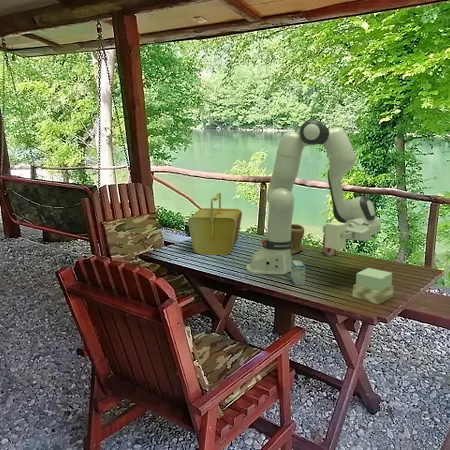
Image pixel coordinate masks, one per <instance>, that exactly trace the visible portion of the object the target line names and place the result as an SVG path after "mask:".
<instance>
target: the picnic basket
mask: <svg viewBox="0 0 450 450" xmlns="http://www.w3.org/2000/svg"><path fill="white" fill-rule="evenodd" d="M214 201H215V202H217V201H218V208H217V207H216V208H215V207H214ZM242 217H243V212H242V210H240V209H239V208H222V194H221V192H218V193H216V195H215V196H214V197H212V198H211V199H210V207H207V208H206V207H203V208H202V207H201V208H200V209H198V210H197V211H196V212H195V213H194V214H192V215H191V216H190V217H189V218H188V219H187V224H188V230H189V235H190V240H191V243H192V250H193V251H194V252H195V253H196V254H199V255H210V256H211V255H212V256H215V255H216V256H226V255H227V256H228V255H230V254H231V253H232V252H233V249H234V246H235V244H236V243H237V241H238V240H239V233H240V228H241V222H242Z"/></svg>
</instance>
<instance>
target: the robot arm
mask: <svg viewBox="0 0 450 450" xmlns="http://www.w3.org/2000/svg"><path fill="white" fill-rule="evenodd" d="M279 141H280V142H279V144H278V147H277V151H276V154H275V162H274V166H273V170H272V171H273V172H272V175H271V177H270V180H269V184H268V188H267V192H266V201H267V203H268V218H267V228H266V229H267V237H266V239H264V238H261V240H260V243H261V244H262V247H261V248H260V249H259V250H257V251H255V253H253V254H252V255H251V259H250V263H247V264H246V266H245V270H246V271H247V272H248V273H249V274H253V275H286V274H288V273H291V261H293V257H292V254H291V251H292V240H291V224H293V223H292V221H293V215H294V208H295V197H294V194H293V193H292V191H293V188H294V184H295V182H296V180H297V177H298V173H299V169H300V165H301V164H300V163H301V158H302V154H303V150H304V148H305V147H306V146H316V145H321V146H322V147H323V148H324V150H325V152H326V155H327V157H328V158H327V159H328V160H329V161H328V163H329V168H328V170H327V173H326V175H327V181H328V187H329V192H330V198H331V202H332V213H333V217H334V219H335V220H336V222H340V223H346V224H347V229H346V233H341V238H346V239H347V240H350V241H361V242H364V241H371V240H372V236H373V235H375V234H377V233H378V232H379V230H380V229H381V220H380V218H378V216H377V215H376V206H375V203H374V202H373V201H372V199H371V198H369V197H368V196H366V195H361V196H356V197H353V198H351V199H347V200H346V199H345V197H344V191H343V188H342V187H343V185H342V180H343V178H344V177H345V175H346V174H347V173H349V172H350V170H352V168H353V167H354V165H355V163H356V155H355V151H354V148H353V146H352V143H351V141H350V139H349V136H348V134H347V133H346V132H345V130H344V128H342V127H331V128H328V127H327V126H326V125H324V124H323V123H322V122H321V121H320V120H318V119H308V120H306V121H304V122H303V123H302V124H301V126H300V127H299V130H298V131H287V132H284V134H283V135H282V136H281V139H280V140H279ZM325 232H326V224H324V225H323V226H322V233H323V234H325Z"/></svg>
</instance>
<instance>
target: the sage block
mask: <svg viewBox="0 0 450 450" xmlns="http://www.w3.org/2000/svg"><path fill="white" fill-rule="evenodd" d="M355 279H356V280H355V284H356V286H359V287H363V288H367V289H372V290H376V291H382V290H384V289H386V288H387V287H389V286H391V285H392V283H393V282H392V281H393V272H390V271H386V270H381V269H376V268H371V267H367V268H365V269H363V270H361V271H359V272H356V277H355ZM392 286H393V285H392Z"/></svg>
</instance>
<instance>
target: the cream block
mask: <svg viewBox="0 0 450 450" xmlns="http://www.w3.org/2000/svg"><path fill="white" fill-rule="evenodd" d="M325 225H326V232H325V233H324V234H325V247H327V248H332V249H336V251H338V250H341V249H344V248H346V247H347V238H341V233H346V229H347V224H346V223H340V222H339V221H332V222H331V221H330V222H326V223H325Z"/></svg>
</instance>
